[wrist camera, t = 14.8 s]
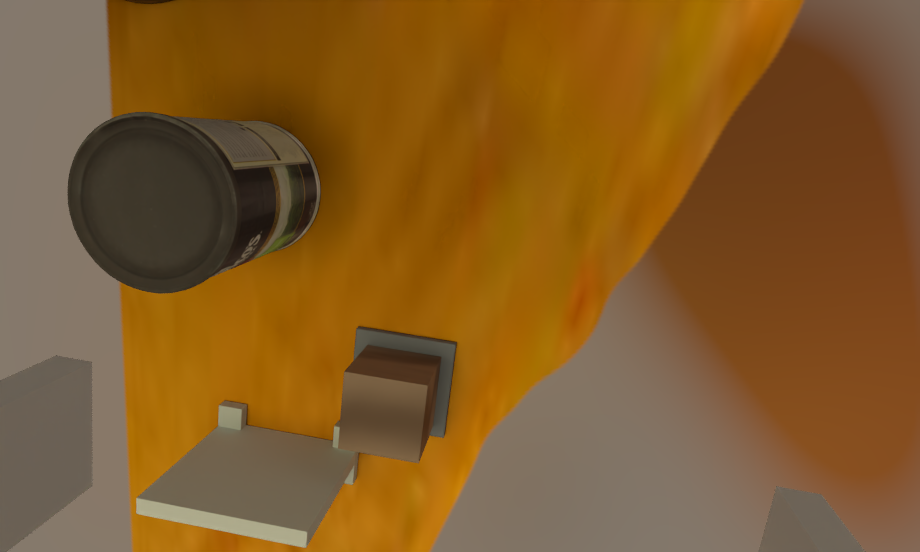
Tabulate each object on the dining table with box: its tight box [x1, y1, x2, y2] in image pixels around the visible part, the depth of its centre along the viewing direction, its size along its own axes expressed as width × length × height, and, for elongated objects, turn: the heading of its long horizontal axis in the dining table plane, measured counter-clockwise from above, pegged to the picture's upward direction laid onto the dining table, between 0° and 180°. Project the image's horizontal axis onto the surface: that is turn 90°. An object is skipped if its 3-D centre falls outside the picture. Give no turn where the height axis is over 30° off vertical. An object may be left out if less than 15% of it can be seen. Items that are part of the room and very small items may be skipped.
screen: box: [136, 401, 359, 548], centre depth 48 cm, size 5×12×12 cm, turn 83°
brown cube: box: [338, 345, 441, 463], centre depth 48 cm, size 6×6×6 cm
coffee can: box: [68, 112, 320, 293], centre depth 43 cm, size 10×10×14 cm
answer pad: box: [354, 327, 457, 438], centre depth 51 cm, size 8×8×1 cm
